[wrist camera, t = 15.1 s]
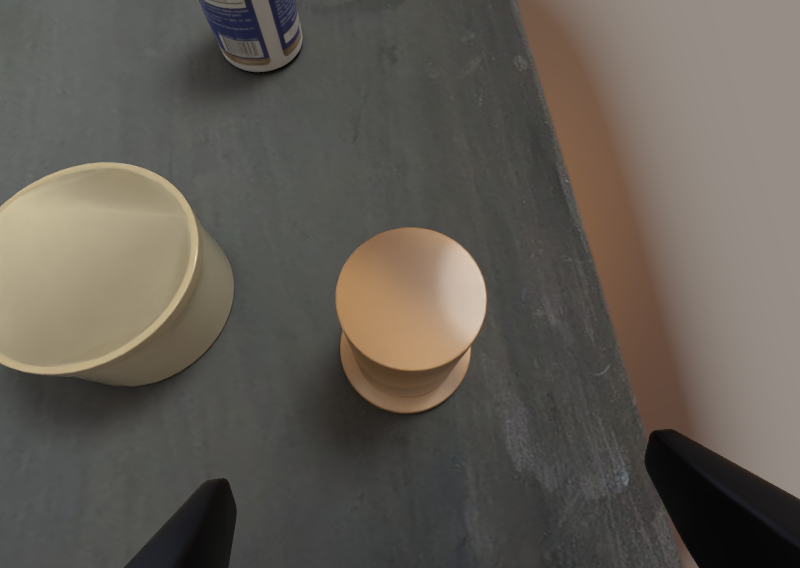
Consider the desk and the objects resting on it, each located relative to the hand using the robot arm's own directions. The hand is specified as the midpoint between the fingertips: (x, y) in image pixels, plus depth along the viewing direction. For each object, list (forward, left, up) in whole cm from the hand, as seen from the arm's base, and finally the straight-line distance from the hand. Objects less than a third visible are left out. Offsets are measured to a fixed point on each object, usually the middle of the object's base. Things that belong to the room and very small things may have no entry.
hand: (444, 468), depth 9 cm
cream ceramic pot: (+3, +16, -11) cm, 20 cm away
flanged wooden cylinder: (+5, +2, -11) cm, 13 cm away
